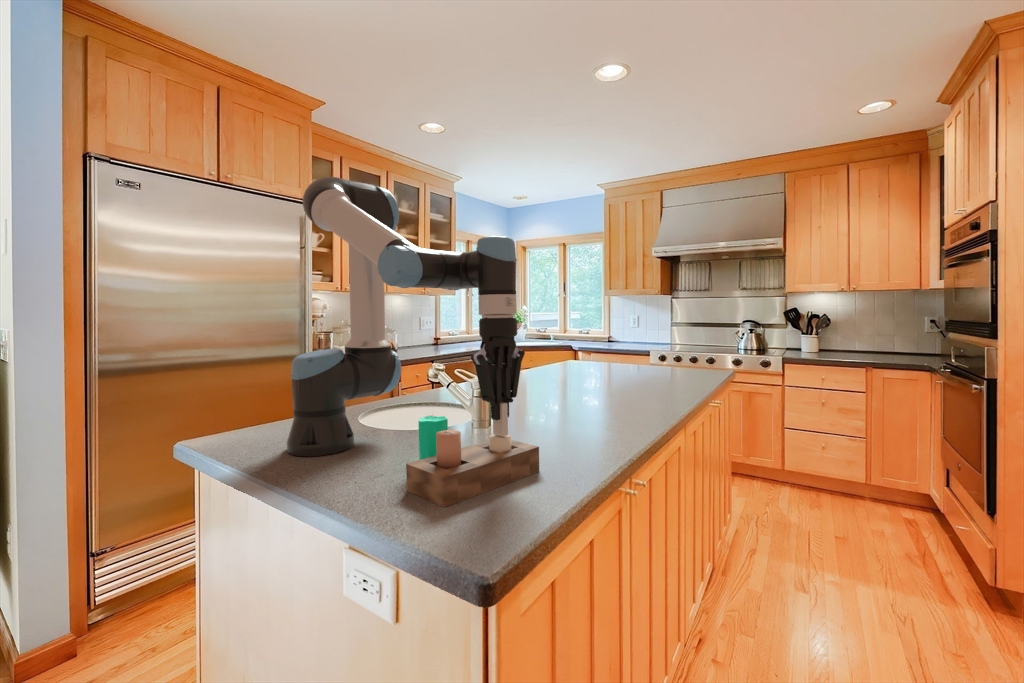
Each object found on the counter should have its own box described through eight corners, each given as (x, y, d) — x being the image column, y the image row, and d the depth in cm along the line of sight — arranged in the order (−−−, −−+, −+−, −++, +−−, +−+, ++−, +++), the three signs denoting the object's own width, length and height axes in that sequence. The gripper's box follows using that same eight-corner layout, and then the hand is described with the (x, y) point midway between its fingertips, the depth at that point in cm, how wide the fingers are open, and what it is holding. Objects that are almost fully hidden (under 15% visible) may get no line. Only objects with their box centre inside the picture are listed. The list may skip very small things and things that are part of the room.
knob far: (485, 466, 97) (484, 436, 97) (500, 461, 100) (500, 432, 100) (500, 471, 94) (499, 440, 94) (516, 466, 97) (515, 435, 97)
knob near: (432, 467, 88) (431, 433, 87) (451, 461, 91) (450, 428, 91) (447, 472, 85) (446, 437, 84) (466, 466, 88) (465, 432, 87)
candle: (443, 473, 97) (441, 414, 96) (415, 472, 98) (413, 413, 97) (452, 464, 103) (451, 408, 102) (426, 463, 104) (424, 407, 103)
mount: (407, 490, 88) (406, 463, 88) (501, 459, 105) (500, 437, 105) (444, 507, 80) (443, 477, 80) (539, 471, 98) (539, 446, 97)
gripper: (486, 317, 88) (489, 445, 90) (534, 316, 97) (536, 431, 99) (460, 317, 93) (463, 438, 95) (507, 316, 103) (510, 426, 104)
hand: (500, 434), depth 97 cm, fingers closed
